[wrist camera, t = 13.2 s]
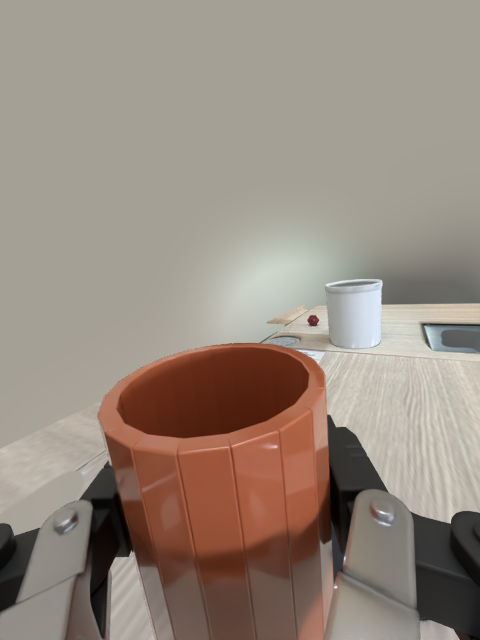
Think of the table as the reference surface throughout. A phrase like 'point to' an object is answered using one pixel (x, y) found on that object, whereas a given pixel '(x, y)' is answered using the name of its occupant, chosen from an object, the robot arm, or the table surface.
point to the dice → (313, 320)
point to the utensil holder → (354, 313)
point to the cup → (226, 491)
